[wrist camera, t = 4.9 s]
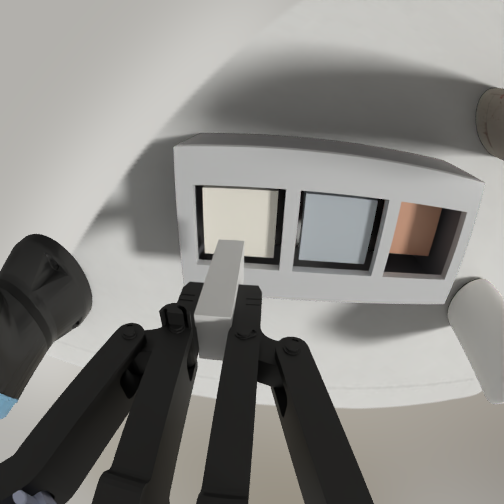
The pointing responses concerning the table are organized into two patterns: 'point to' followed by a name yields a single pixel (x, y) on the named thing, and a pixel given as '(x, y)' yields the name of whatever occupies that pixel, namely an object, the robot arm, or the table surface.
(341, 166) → the keypad housing
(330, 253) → the key slate
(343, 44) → the table surface
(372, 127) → the table surface
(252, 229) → the key ivory
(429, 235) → the key terracotta
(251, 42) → the table surface
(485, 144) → the thermos bottle
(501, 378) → the white milk bottle
